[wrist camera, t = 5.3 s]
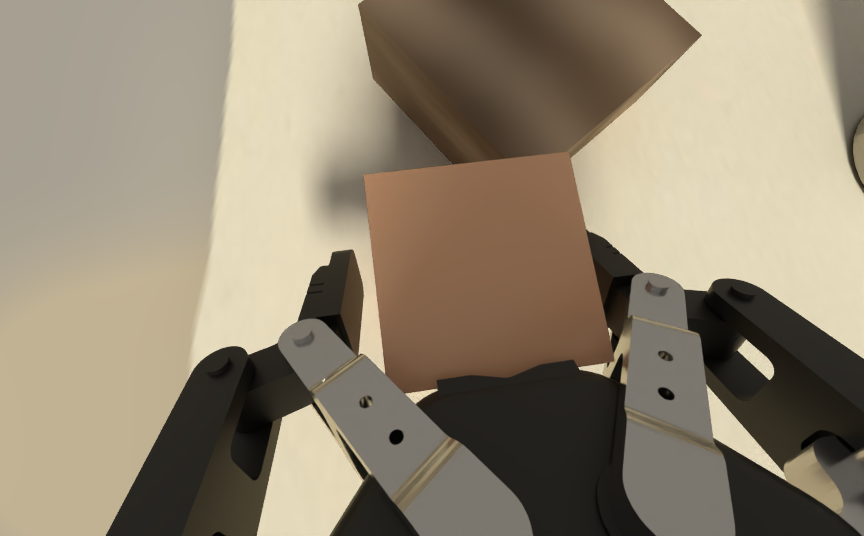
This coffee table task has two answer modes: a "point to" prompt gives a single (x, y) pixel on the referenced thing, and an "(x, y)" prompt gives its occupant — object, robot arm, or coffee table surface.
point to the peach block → (483, 270)
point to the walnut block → (519, 68)
